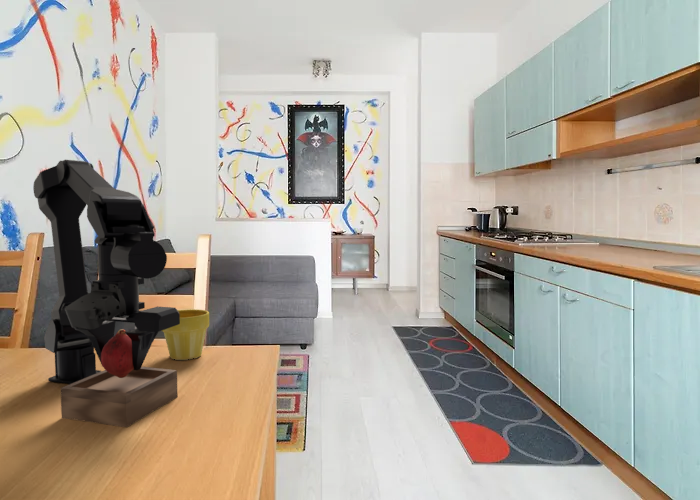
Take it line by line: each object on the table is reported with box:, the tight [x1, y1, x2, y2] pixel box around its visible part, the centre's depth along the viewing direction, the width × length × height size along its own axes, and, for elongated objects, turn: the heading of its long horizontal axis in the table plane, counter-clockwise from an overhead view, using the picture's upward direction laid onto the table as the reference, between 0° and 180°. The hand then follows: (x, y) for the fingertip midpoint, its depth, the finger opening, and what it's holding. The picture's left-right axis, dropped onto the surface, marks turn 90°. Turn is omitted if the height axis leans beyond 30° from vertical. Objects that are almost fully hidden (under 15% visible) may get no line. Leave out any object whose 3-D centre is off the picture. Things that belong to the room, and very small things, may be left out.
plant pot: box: [161, 308, 210, 361], centre depth 102 cm, size 10×10×10 cm
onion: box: [100, 328, 134, 378], centre depth 74 cm, size 6×6×8 cm
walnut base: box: [60, 366, 178, 428], centre depth 74 cm, size 12×12×5 cm
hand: (121, 368), depth 74 cm, fingers closed on onion, 6 cm apart
